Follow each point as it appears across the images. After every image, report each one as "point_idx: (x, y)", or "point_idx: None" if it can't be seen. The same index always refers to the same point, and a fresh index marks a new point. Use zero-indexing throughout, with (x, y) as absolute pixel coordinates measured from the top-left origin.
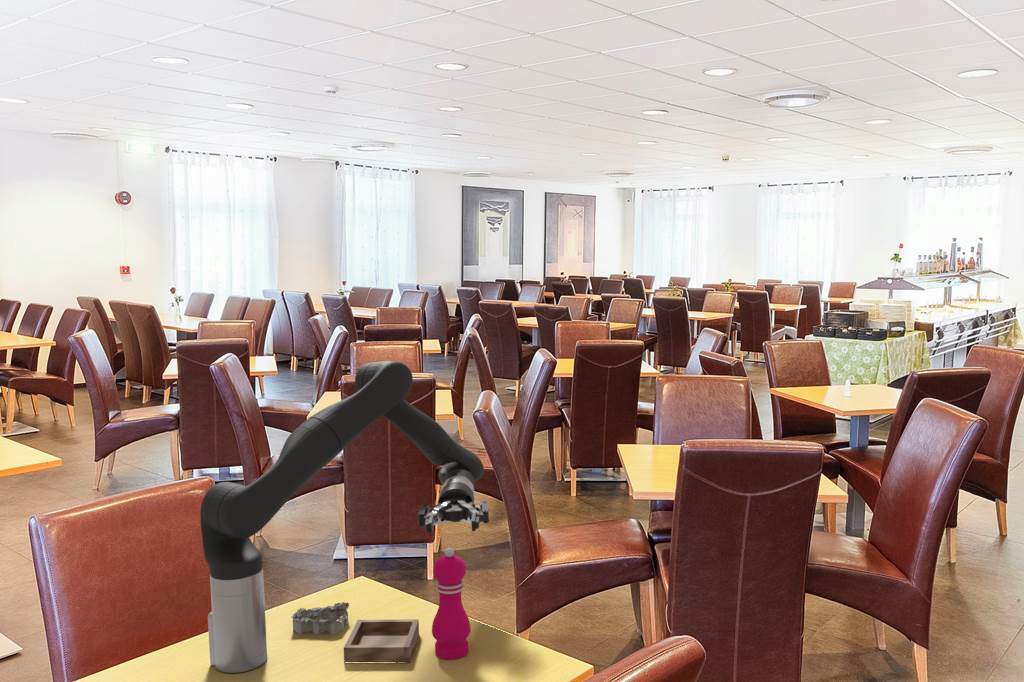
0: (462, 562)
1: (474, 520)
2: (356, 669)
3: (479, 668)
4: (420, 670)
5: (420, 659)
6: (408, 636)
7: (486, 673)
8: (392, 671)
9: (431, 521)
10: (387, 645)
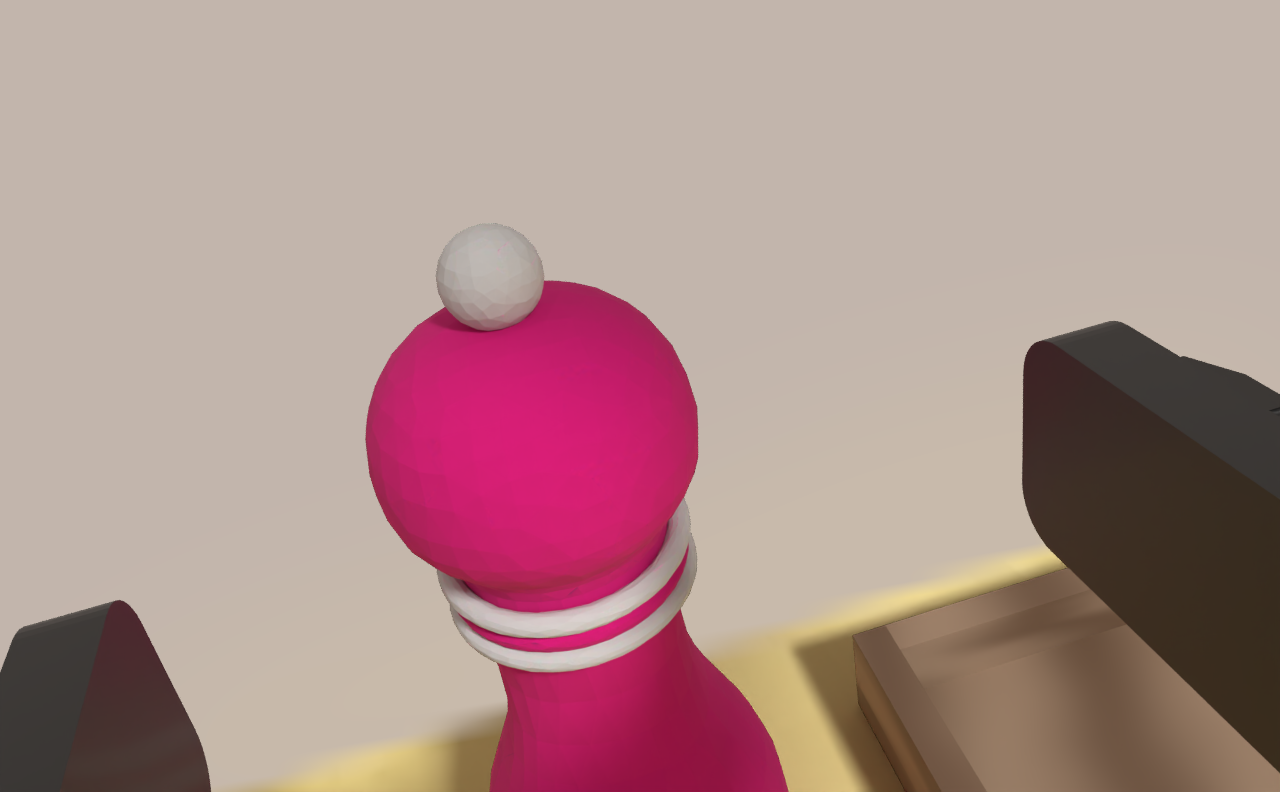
0: (375, 391)
1: (27, 635)
2: None
3: (438, 780)
4: (756, 663)
5: (822, 761)
6: (952, 748)
7: (391, 747)
8: (896, 611)
9: (1098, 370)
10: (997, 610)
